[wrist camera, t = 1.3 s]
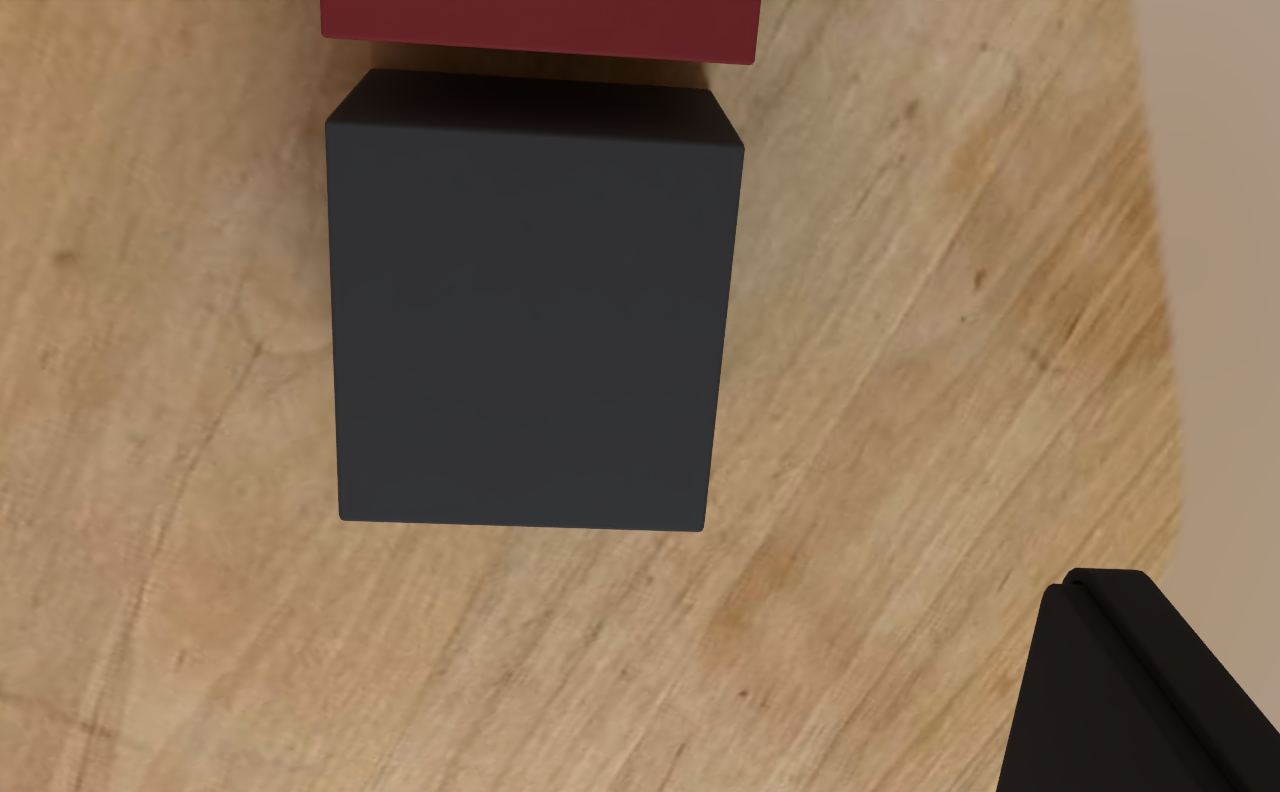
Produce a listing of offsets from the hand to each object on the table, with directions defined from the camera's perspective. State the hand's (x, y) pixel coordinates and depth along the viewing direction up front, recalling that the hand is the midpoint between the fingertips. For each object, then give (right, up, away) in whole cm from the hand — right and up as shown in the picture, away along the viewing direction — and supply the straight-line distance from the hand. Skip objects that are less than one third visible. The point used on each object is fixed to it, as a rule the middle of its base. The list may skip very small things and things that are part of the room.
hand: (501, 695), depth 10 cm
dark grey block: (-1, +5, +10) cm, 12 cm away
